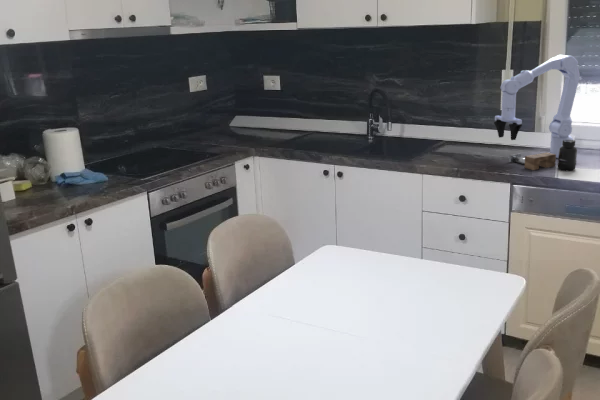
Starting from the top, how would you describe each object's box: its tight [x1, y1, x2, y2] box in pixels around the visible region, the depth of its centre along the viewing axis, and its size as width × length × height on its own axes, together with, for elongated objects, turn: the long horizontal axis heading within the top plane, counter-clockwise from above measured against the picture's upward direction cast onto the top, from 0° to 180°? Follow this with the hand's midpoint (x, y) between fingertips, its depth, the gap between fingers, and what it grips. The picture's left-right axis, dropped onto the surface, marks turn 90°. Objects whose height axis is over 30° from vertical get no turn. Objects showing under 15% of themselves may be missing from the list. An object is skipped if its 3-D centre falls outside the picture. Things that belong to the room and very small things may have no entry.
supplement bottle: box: [557, 139, 578, 172], centre depth 254 cm, size 7×7×12 cm
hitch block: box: [524, 152, 557, 171], centre depth 261 cm, size 12×5×5 cm, turn 115°
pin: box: [508, 152, 525, 165], centre depth 269 cm, size 9×6×3 cm, turn 25°
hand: (507, 138), depth 275 cm, fingers open, 7 cm apart
